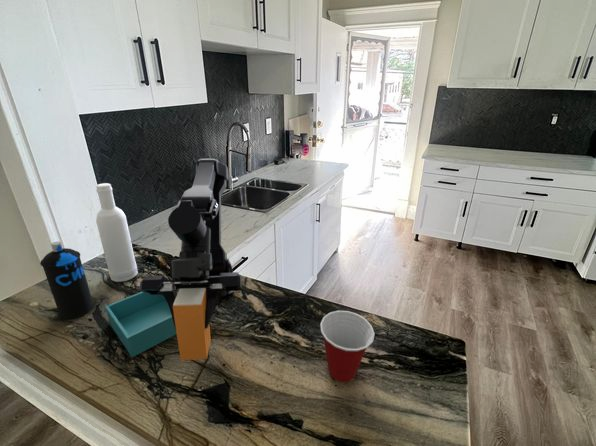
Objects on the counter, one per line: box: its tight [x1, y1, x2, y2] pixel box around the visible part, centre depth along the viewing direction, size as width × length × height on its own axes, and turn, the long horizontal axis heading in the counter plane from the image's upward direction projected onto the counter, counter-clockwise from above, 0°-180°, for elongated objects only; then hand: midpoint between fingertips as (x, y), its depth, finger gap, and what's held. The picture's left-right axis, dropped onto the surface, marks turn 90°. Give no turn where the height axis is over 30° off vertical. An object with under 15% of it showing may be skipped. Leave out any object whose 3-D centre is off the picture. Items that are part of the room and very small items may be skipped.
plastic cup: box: [319, 310, 375, 383], centre depth 65 cm, size 11×11×12 cm
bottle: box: [95, 182, 139, 283], centre depth 95 cm, size 8×8×30 cm
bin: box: [104, 291, 177, 358], centre depth 79 cm, size 15×15×6 cm
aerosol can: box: [39, 241, 96, 320], centre depth 81 cm, size 8×8×20 cm
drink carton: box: [173, 288, 212, 361], centre depth 61 cm, size 5×5×13 cm
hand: (191, 329), depth 59 cm, fingers closed on drink carton, 5 cm apart
